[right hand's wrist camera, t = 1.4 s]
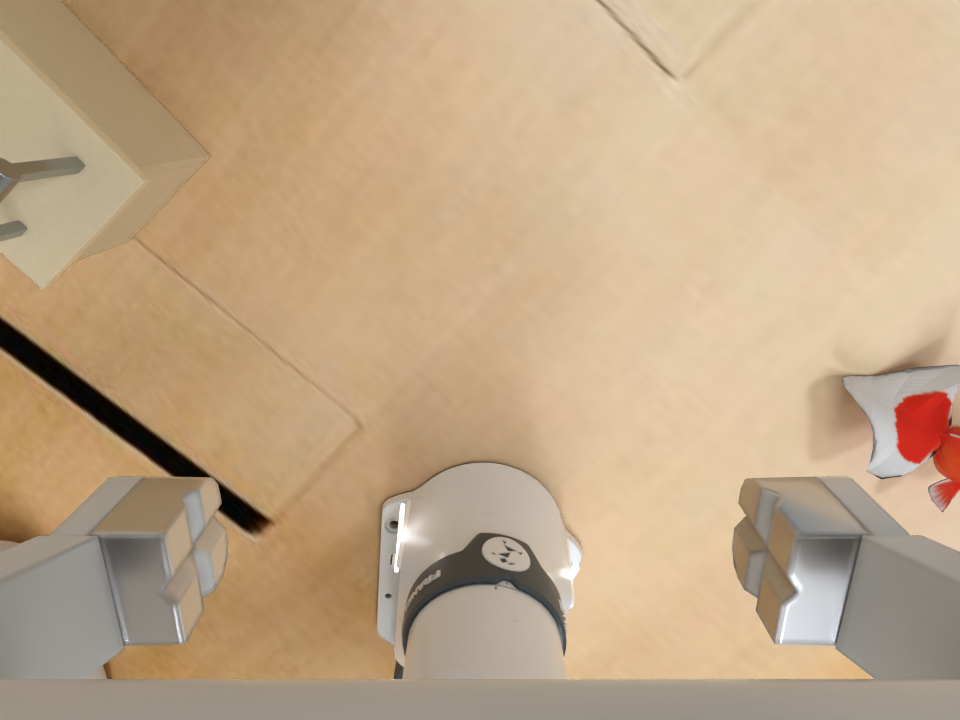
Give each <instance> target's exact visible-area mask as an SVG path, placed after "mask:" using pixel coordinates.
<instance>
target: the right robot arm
mask: <svg viewBox="0 0 960 720" xmlns="http://www.w3.org/2000/svg"><path fill="white" fill-rule="evenodd" d="M221 503H222V502H221V497H220V492H219V487H218V484H217V483H216V481H215V480H214V479H213V478H200V477H146V476H120V477H111V478H108V479H107V480H106V481H105V482H104V483H103V484H102V485H101V486H100V487H99V488H98V489H97V490H96V491H95V492H94V493H93V494H92V495H91V496H90V497H89V498H88V499H87V500H86V501H84V502H83V503H82V504H81V505H80V506H79V507H78V508H77V509H76V510H75V511H74V512H73V513H72V514H71V515H70V516H69V517H68V518H67V519H66V520H65V521H64V522H63V523H62V524H61V525H60V526H59V527H58V528H57V529H56V530H54V531H53V532H52V533H51V534H50V535H45V536H36V537H34V538H32V539H29V540H27V541H25V542H22V543H20V544H18V545H15V546H13V547H11V548H8V549H6V550H4V551H1V552H0V720H960V552H959V551H956V550H954V549H952V548H949V547H947V546H945V545H942V544H940V543H938V542H935V541H933V540H931V539H928V538H926V537H924V536H915V535H910V534H909V533H908V532H907V531H906V530H905V529H904V528H902V527H901V526H900V525H899V524H898V523H897V522H896V521H895V520H894V519H893V518H892V517H891V516H890V515H889V514H888V513H887V512H886V511H885V510H884V509H883V508H882V507H881V506H880V505H879V504H878V503H877V502H876V501H875V500H874V499H873V498H872V497H870V496H869V495H868V494H867V493H866V492H865V491H864V490H863V489H862V488H861V487H860V486H859V485H858V484H857V483H856V482H855V481H854V480H853V479H852V478H849V477H846V476H825V477H783V478H751V479H745V481H744V483H743V485H742V487H741V490H740V496H739V502H738V503H739V505H740V506H741V508H742V509H743V511H744V513H745V514H746V516H745V517H744V518H743V520H742V521H741V522H740V523H739V524H738V525H737V526H736V527H735V528H734V535H733V544H732V551H733V561H734V567H735V570H736V573H737V576H738V579H739V581H740V583H741V584H742V586H743V588H744V590H746V591H747V592H749V593H750V594H752V595H754V596H755V597H757V598H758V601H757V607H756V612H757V613H758V615H759V617H760V619H761V621H762V622H763V624H764V626H765V628H766V629H767V631H768V633H769V635H770V636H771V638H772V640H773V642H774V644H790V645H827V646H836V649H837V650H838V651H839V652H841V653H842V654H843V655H845V656H846V657H847V658H849V659H850V660H851V661H852V662H854V663H855V664H856V665H858V666H859V667H860V668H862V669H863V670H864V671H865V672H867V673H868V674H869V675H871V676H872V677H873V678H875V679H568V676H567V672H566V667H565V661H564V655H565V650H566V630H567V629H566V619H565V615H566V613H567V612H568V610H569V609H571V608H572V607H573V605H574V589H573V578H574V577H575V575H576V573H577V572H578V570H579V566H578V565H579V564H580V562H581V560H582V548H581V546H580V544H579V543H578V541H577V540H576V539H575V538H574V537H573V536H572V535H571V534H570V533H569V532H568V531H567V530H566V528H565V526H564V524H563V521H562V518H561V515H560V512H559V509H558V506H557V504H556V502H555V500H554V499H553V497H552V496H551V494H550V493H549V492H548V490H547V489H546V488H545V487H544V486H543V485H542V484H541V483H540V482H538V481H537V480H536V479H535V478H533V477H532V476H530V475H528V474H527V473H525V472H523V471H521V470H519V469H516V468H513V467H510V466H507V465H502V464H497V463H485V462H481V463H469V464H464V465H460V466H456V467H453V468H450V469H448V470H445V471H443V472H441V473H440V474H438V475H436V476H434V477H433V478H432V479H430V480H429V481H428V482H426V483H425V484H424V485H422V486H421V487H419V488H418V489H416V490H414V491H411V492H407V493H403V494H400V495H396V496H394V497H391V498H389V499H387V500H386V501H385V502H384V504H383V506H382V519H381V542H380V565H379V588H378V611H377V631H378V634H379V635H380V636H381V637H382V638H384V639H385V640H386V641H387V642H389V643H390V644H392V645H393V646H394V657H395V659H396V667H395V673H394V679H86V678H87V677H88V676H90V675H91V674H92V673H93V672H95V671H96V670H97V669H99V668H100V667H101V666H103V665H104V664H105V663H106V662H108V661H109V660H110V659H112V658H113V657H114V656H116V655H117V654H118V653H119V652H121V651H122V650H123V649H124V646H133V645H168V644H186V642H187V640H188V638H189V637H190V635H191V633H192V631H193V629H194V628H195V626H196V624H197V622H198V621H199V619H200V617H201V615H202V613H203V612H204V607H203V601H202V598H203V597H205V596H206V595H208V594H210V593H211V592H213V591H214V590H216V588H217V586H218V584H219V582H220V581H221V579H222V577H223V574H224V569H225V565H226V561H227V546H228V541H227V534H226V528H225V527H224V526H223V525H222V524H221V523H220V522H219V521H218V520H217V518H216V517H215V516H214V514H215V513H216V511H217V509H218V508H219V506H220V505H221ZM391 521H397V522H398V524H393V523H392V522H391Z"/></svg>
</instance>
